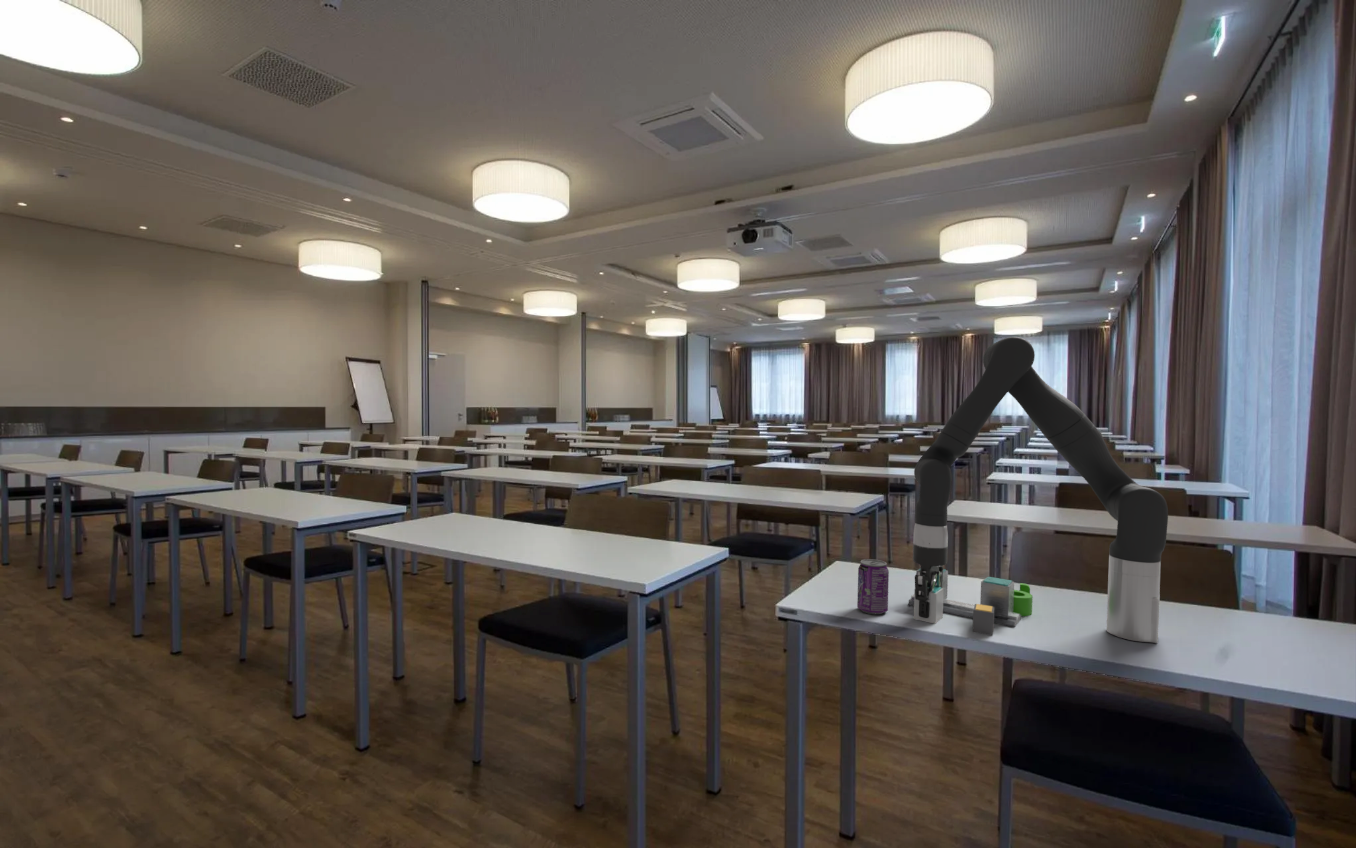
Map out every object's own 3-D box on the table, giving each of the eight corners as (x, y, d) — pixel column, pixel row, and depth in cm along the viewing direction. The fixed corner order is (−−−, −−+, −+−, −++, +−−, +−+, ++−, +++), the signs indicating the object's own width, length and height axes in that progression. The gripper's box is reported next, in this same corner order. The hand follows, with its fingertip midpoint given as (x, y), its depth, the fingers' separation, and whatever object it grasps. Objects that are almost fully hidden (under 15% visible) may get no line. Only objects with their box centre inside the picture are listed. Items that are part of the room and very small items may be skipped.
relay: (993, 628, 141) (994, 606, 141) (992, 635, 137) (993, 612, 137) (974, 625, 143) (974, 603, 143) (972, 632, 139) (973, 609, 139)
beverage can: (862, 604, 157) (864, 557, 156) (891, 610, 153) (892, 561, 152) (853, 611, 151) (854, 562, 151) (882, 618, 147) (883, 567, 147)
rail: (1020, 619, 148) (1022, 581, 147) (1014, 627, 142) (1015, 587, 142) (917, 598, 163) (918, 563, 162) (908, 604, 157) (909, 568, 157)
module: (942, 617, 148) (943, 587, 148) (935, 623, 144) (936, 592, 144) (921, 613, 151) (922, 583, 151) (913, 618, 147) (914, 588, 147)
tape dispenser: (1032, 619, 149) (1032, 599, 149) (998, 613, 152) (999, 595, 152) (1030, 602, 162) (1031, 584, 162) (1000, 597, 166) (1000, 580, 165)
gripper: (937, 550, 139) (935, 625, 139) (955, 540, 150) (953, 610, 151) (903, 545, 144) (901, 618, 144) (923, 536, 155) (921, 603, 155)
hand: (928, 613), depth 147 cm, fingers open, 5 cm apart
